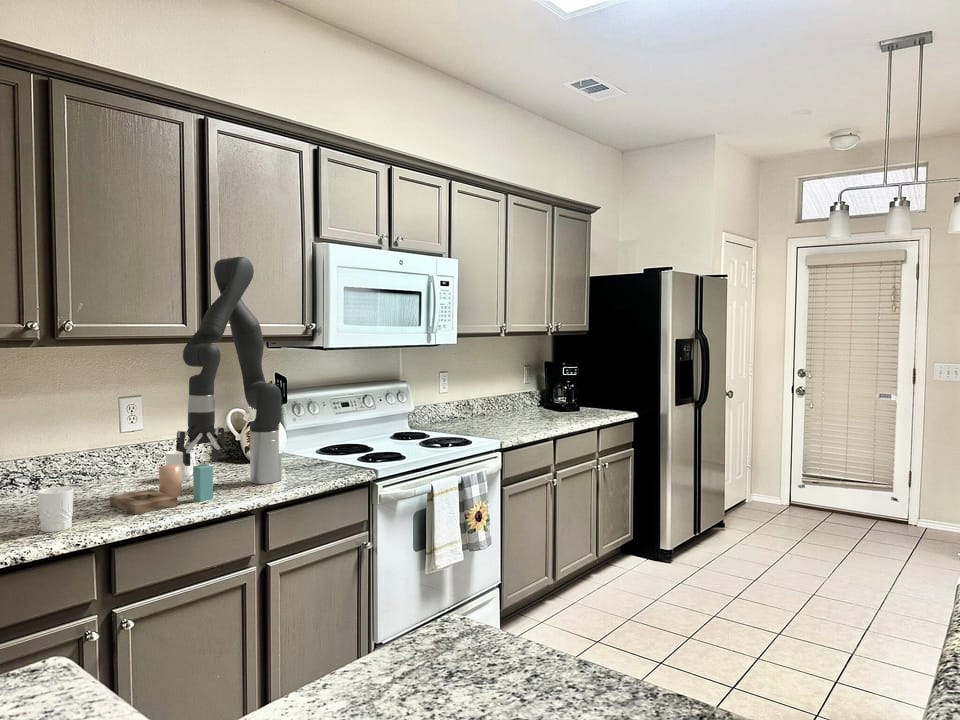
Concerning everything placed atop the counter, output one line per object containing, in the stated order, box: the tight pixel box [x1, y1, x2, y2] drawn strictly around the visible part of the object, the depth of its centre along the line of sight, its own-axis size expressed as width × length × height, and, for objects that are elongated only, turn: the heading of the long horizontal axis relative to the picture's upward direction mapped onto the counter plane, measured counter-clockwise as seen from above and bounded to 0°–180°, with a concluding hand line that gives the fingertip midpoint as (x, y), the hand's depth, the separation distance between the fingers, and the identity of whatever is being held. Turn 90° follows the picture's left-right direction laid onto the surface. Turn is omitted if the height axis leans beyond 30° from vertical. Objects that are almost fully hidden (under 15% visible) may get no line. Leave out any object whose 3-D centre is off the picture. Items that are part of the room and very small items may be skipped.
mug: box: [165, 449, 198, 482], centre depth 235 cm, size 12×9×9 cm
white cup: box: [36, 486, 74, 533], centre depth 176 cm, size 8×8×10 cm
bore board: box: [109, 489, 179, 516], centre depth 200 cm, size 12×16×2 cm
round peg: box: [158, 464, 183, 497], centre depth 212 cm, size 6×6×9 cm
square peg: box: [192, 464, 214, 502], centre depth 208 cm, size 4×4×10 cm
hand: (201, 463), depth 207 cm, fingers open, 8 cm apart
